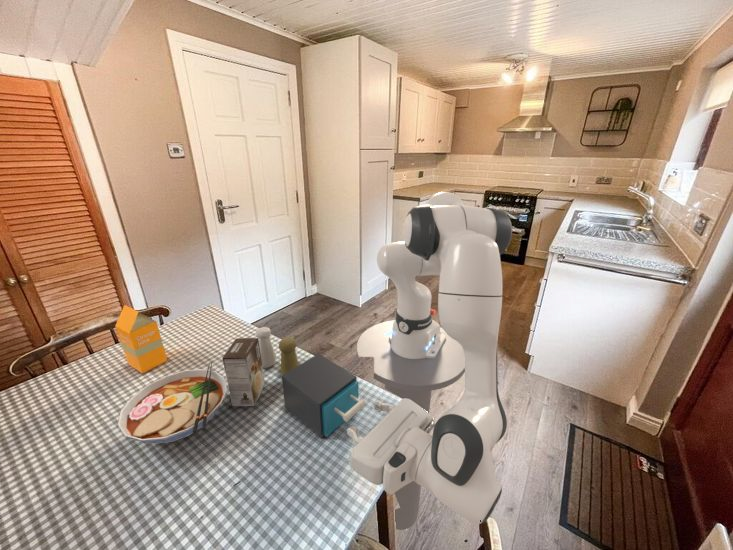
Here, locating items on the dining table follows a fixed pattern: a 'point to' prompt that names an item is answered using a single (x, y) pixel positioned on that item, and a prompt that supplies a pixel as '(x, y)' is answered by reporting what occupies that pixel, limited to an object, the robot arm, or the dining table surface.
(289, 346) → the olive pepper shaker
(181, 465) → the dining table surface
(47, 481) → the dining table surface
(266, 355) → the salt shaker
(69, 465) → the dining table surface
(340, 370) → the grey drawer cabinet
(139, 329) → the orange juice
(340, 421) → the teal drawer
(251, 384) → the coffee box
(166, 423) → the ramen bowl
